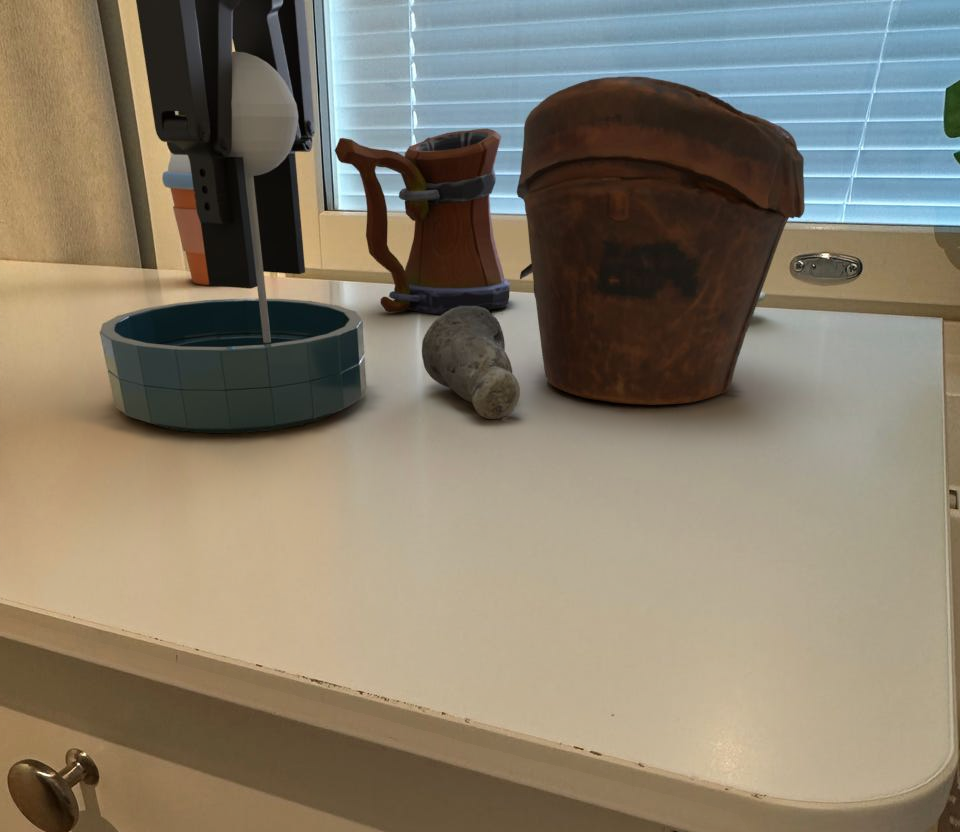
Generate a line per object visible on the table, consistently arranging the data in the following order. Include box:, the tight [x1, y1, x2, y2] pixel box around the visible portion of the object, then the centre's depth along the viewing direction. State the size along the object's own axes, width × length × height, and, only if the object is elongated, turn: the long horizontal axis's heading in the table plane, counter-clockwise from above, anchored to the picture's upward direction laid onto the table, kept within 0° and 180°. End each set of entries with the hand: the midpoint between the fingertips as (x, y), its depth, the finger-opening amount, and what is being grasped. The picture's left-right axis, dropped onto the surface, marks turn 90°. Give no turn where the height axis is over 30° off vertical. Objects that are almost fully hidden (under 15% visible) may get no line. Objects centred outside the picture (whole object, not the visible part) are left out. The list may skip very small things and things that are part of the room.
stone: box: [421, 306, 521, 420], centre depth 57 cm, size 10×5×8 cm
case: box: [516, 75, 806, 406], centre depth 58 cm, size 18×20×18 cm
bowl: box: [99, 297, 367, 434], centre depth 56 cm, size 16×16×5 cm
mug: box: [334, 128, 511, 315], centre depth 81 cm, size 18×12×15 cm, turn 132°
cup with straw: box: [161, 153, 210, 286], centre depth 93 cm, size 9×9×18 cm
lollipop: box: [209, 51, 298, 343], centre depth 51 cm, size 6×6×15 cm
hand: (259, 277), depth 53 cm, fingers closed on lollipop, 5 cm apart
